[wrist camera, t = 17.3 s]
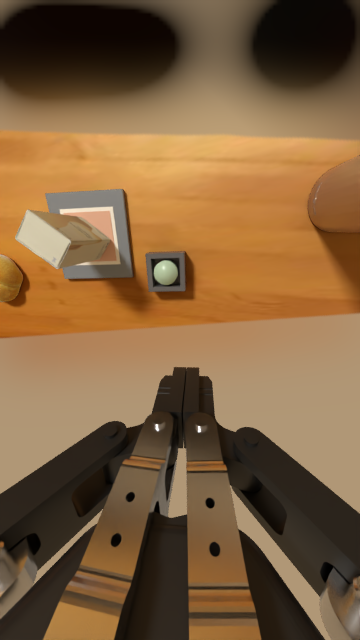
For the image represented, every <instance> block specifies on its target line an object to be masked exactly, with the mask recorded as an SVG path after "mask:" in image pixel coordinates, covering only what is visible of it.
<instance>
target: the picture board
mask: <svg viewBox="0 0 360 640" xmlns="http://www.w3.org/2000/svg"><path fill="white" fill-rule="evenodd" d="M45 195H46V199H47V204H48V208H49V212H50V213H56V214H63V215H70V216H78V217H82V218H83V219H85V220H86V221H88V222H89V223H90V224H92V225H93V226H94V227H96V228H97V229H98V230H100V231H101V232H102V233H103V234H105V235H106V236H107V237H108V238H109V239H110V243H109V244H108V246H107V248H106V250H105V252H104V253H103V255H102V256H101V258H100V259H99V260H94V261H90V262H86V263H81V264H77V265H73V266H68V267H64V268H63V273H64V277H65V279H76V278H123V277H134V275H133V266H132V257H131V249H130V240H129V231H128V223H127V214H126V205H125V196H124V190H123V189H114V190H97V191H80V192H64V193H47V194H45Z"/></svg>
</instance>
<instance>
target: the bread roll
mask: <svg viewBox="0 0 360 640" xmlns="http://www.w3.org/2000/svg"><path fill="white" fill-rule="evenodd" d="M22 281H23V275H22V273H21V271H20V270H19V268H18V267H17V266H16V264H15V263H14V261H13V260H12V259H10V258H8V257H7V256H4V255H1V254H0V302H5V301H11V300H13V299H14V298H15V297H16V296H17V295H18V293H19V291H20V287H21V284H22Z"/></svg>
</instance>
